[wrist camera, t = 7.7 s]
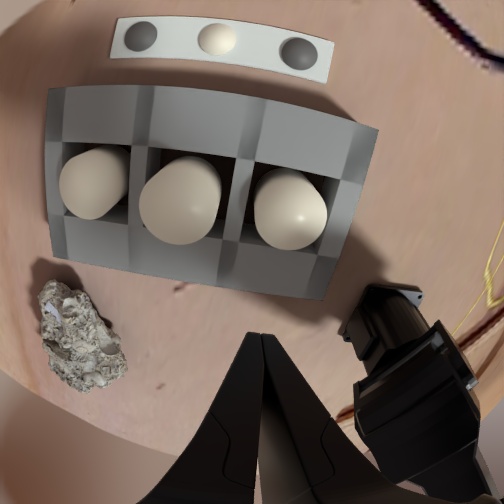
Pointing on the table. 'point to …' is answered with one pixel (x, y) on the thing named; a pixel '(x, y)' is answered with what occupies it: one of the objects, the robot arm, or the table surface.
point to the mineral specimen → (78, 339)
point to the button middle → (181, 200)
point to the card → (224, 44)
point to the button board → (246, 153)
